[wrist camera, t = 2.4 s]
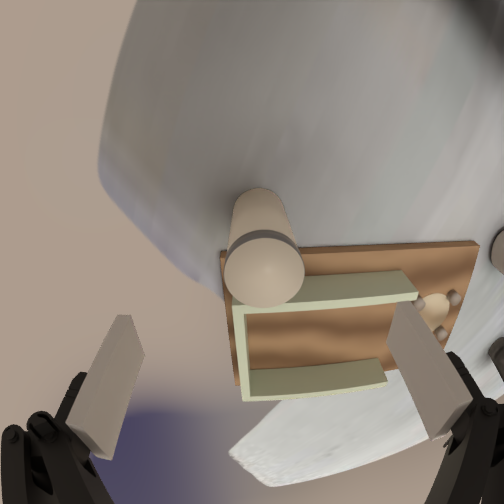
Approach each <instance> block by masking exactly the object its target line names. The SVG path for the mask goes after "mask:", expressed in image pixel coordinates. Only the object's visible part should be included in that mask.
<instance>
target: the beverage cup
mask: <svg viewBox="0 0 504 504" xmlns="http://www.w3.org/2000/svg"><path fill="white" fill-rule="evenodd" d="M489 355H490V356H491V359H492V361H493V363H494V364H495V366H496V368H497V370H498V372H499V374H500V376H501V378H502V380H503V382H504V337H501V338H499V339H498V340H496V341H495V342H494V343H493V344H492V346H491V347H490V349H489Z"/></svg>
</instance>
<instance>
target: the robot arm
mask: <svg viewBox="0 0 504 504" xmlns="http://www.w3.org/2000/svg"><path fill="white" fill-rule="evenodd" d="M386 344H387V346H388V348H389V350H390V352H391V354H392V356H393V358H394V360H395V362H396V364H397V366H398V368H399V370H400V372H401V375H402V377H403V379H404V381H405V383H406V385H407V387H408V390H409V392H410V394H411V396H412V399H413V401H414V403H415V405H416V408H417V410H418V412H419V414H420V417H421V419H422V421H423V424H424V426H425V429H426V431H427V434H428V436H429V438H430V441H433V440H436V439H438V438H441V437H444V436H445V435H446V434H447V433H448V432H449V430H450V429H451V431H452V433H453V435H452V436H451V437H450V438H449V439H448V440H447V442H446V443H445V444H444V446H443V447H446V446H447V445H448V447H447V450H446V453H445V455H444V458H443V461H442V464H441V466H440V469H439V471H438V474H437V476H436V479H435V481H434V484H433V486H432V488H431V491H430V493H429V495H428V497H427V500H426V502H425V504H479V503H480V500H481V497H482V501H481V504H504V404H498V403H497V402H496V401H495V400H493V399H491V398H485V397H484V396H483V394H482V392H481V391H480V389H479V387H478V386H477V384H476V382H475V381H474V379H473V378H472V376H471V374H469V371H468V370H467V368H465V365H464V363H463V362H462V360H461V359H460V357H458V356H457V355H456V354H455V353H453V352H452V351H451V352H448V353H445V351H444V350H443V348H442V347H441V345H440V343H439V342H438V340H437V339H436V337H435V336H434V334H433V333H432V331H431V330H430V328H429V327H428V325H427V324H426V323H425V321H424V320H423V318H422V317H421V315H420V314H419V312H418V311H417V310H416V308H415V307H414V305H413V304H412V303H411V301H410V300H409V301H401V302H397V305H396V309H395V312H394V316H393V320H392V323H391V327H390V330H389V334H388V337H387V340H386ZM144 356H145V354H144V352H143V348H142V346H141V343H140V340H139V337H138V335H137V332H136V329H135V326H134V323H133V320H132V317H131V315H117V317H116V318H115V321H114V322H113V324H112V326H111V328H110V330H109V332H108V334H107V336H106V337H105V339H104V341H103V343H102V345H101V347H100V349H99V351H98V353H97V355H96V357H95V359H94V361H93V363H92V365H91V367H90V369H89V371H88V373H86V372H80V373H79V374H78V375H77V376H76V377H75V378H74V379H73V380H72V382H71V384H70V386H69V390H67V392H66V394H65V397H64V398H63V401H62V403H61V405H60V407H59V409H58V412H57V414H56V416H55V418H53V417H52V416H51V415H50V414H49V413H48V412H45V411H39V412H36V413H34V414H32V415H31V417H30V418H29V419H28V422H27V430H28V431H27V432H26V431H24V430H23V429H22V428H21V427H20V426H18V425H14V424H13V425H10V426H8V427H7V428H5V430H4V431H3V434H2V441H1V485H2V499H3V504H114V502H113V500H112V499H111V497H110V495H109V493H108V492H107V490H106V488H105V486H104V484H103V482H102V481H101V479H100V477H99V475H98V473H97V471H96V469H95V467H94V465H93V463H92V461H91V459H90V458H89V454H90V451H91V452H92V453H93V454H94V455H95V456H96V457H99V458H104V459H108V460H112V458H113V454H114V450H115V447H116V443H117V440H118V437H119V433H120V430H121V426H122V423H123V420H124V417H125V413H126V410H127V407H128V404H129V400H130V397H131V394H132V391H133V388H134V385H135V382H136V379H137V376H138V373H139V370H140V367H141V364H142V361H143V359H144Z"/></svg>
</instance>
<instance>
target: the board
mask: <svg viewBox="0 0 504 504" xmlns="http://www.w3.org/2000/svg"><path fill="white" fill-rule="evenodd" d="M479 248H480V245H478V244H477V243H476V242H475V241H455V242H430V243H405V244H381V245H357V246H333V247H309V248H298V249H299V251H300V253H301V256H302V259H303V262H304V266H305V276H319V275H336V274H352V273H367V272H381V271H395V270H402V271H403V273H404V274H405V275H406V276H407V278H408V279H409V280H410V281H411V283H412V284H413V285H414V286H415V288H416V289H417V290H418V292H419V293H418V296H417V300H412V301H411V303H412V304H413V305H414V307H415V308H416V310H417V311H418V312H419V314H420V315H421V317H422V318H423V320H424V321H425V323H426V324H427V325H428V327H429V328H430V330H431V331H432V333H433V334H434V336H435V337H436V339H437V340H438V342H439V343H440V345H441V347H442V348H443V349H444V347H445V345H446V343H447V340H448V338H449V336H450V333H451V331H452V329H453V326H454V324H455V321H456V319H457V316H458V314H459V311H460V308H461V306H462V303H463V300H464V297H465V294H466V291H467V288H468V285H469V282H470V279H471V276H472V273H473V269H474V266H475V262H476V259H477V255H478V251H479ZM226 254H227V251H221V256H220V262H221V271H222V281H223V290H224V299H225V307H226V315H227V324H228V332H229V340H230V348H231V356H232V363H233V371H234V378H235V385H236V386H237V385H238V386H239V385H240V376H239V367H238V359H237V350H236V341H235V331H234V322H233V312H232V297H233V295H232V294H231V293H230V292H229V290H228V289H227V287H226V285H225V282H224V275H223V271H224V264H225V258H226ZM396 305H397V302H396V303H387V304H378V305H368V306H358V307H347V308H335V309H322V310H309V311H293V312H275V313H253V314H246V320H247V334H248V348H249V361H250V370H259V369H279V368H294V367H306V366H317V365H327V364H336V363H344V362H352V361H360V360H367V359H373V358H378V359H379V361H380V364H381V366H382V368H383V371H389V370H394V369H399V368H398V366H397V364H396V362H395V360H394V358H393V356H392V354H391V352H390V350H389V348H388V346H387V344H386V340H387V337H388V334H389V330H390V327H391V323H392V320H393V316H394V312H395V309H396Z"/></svg>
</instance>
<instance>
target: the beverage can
mask: <svg viewBox="0 0 504 504" xmlns="http://www.w3.org/2000/svg"><path fill="white" fill-rule="evenodd" d="M491 260H492V264H493V266H494V267H495V268H497V269H498V270H499V271H500V272H501V273H502V274H503V275H504V230H503V231H502V232H500V233H499V234H498V236H497V237H496V239H495V241H494V243H493V247H492V253H491Z"/></svg>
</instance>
